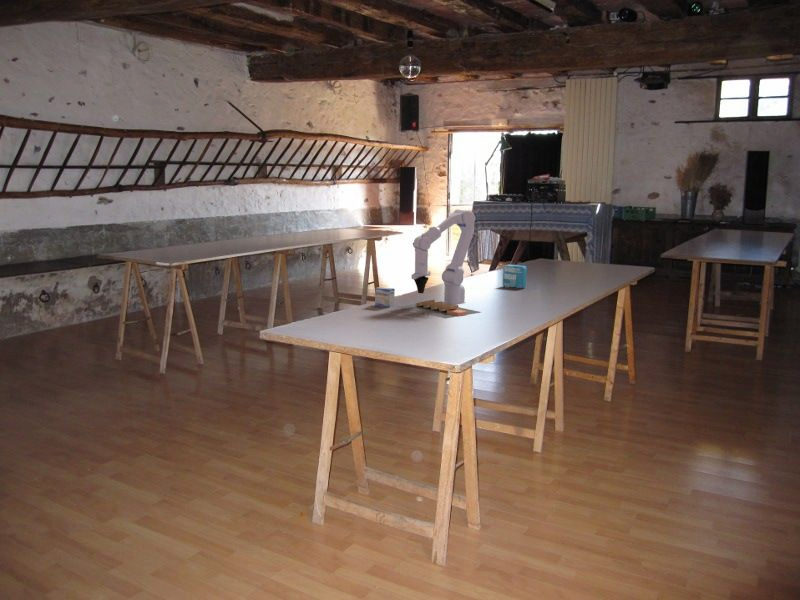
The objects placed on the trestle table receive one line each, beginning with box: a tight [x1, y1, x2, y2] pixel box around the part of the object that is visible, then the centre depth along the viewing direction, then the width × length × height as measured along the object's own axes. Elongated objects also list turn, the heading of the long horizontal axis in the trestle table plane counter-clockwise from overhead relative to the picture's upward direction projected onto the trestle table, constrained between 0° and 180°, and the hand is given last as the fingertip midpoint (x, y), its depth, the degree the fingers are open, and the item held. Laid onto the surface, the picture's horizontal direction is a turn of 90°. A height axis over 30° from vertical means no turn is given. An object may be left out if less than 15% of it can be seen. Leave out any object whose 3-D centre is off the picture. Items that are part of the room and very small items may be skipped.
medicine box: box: [374, 286, 396, 308], centre depth 311 cm, size 8×4×9 cm, turn 62°
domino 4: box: [439, 304, 460, 312], centre depth 298 cm, size 2×5×7 cm
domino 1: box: [415, 299, 436, 306], centre depth 310 cm, size 2×5×7 cm
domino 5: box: [447, 309, 467, 317], centre depth 295 cm, size 2×5×7 cm
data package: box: [502, 264, 528, 289], centre depth 371 cm, size 12×4×12 cm, turn 58°
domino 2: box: [423, 301, 443, 308], centre depth 306 cm, size 2×5×7 cm
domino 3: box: [431, 303, 450, 310], centre depth 302 cm, size 2×5×7 cm
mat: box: [397, 303, 482, 319], centre depth 305 cm, size 22×32×1 cm
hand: (420, 293), depth 311 cm, fingers closed
